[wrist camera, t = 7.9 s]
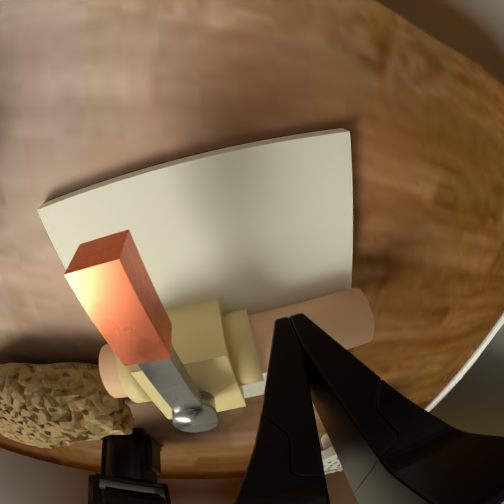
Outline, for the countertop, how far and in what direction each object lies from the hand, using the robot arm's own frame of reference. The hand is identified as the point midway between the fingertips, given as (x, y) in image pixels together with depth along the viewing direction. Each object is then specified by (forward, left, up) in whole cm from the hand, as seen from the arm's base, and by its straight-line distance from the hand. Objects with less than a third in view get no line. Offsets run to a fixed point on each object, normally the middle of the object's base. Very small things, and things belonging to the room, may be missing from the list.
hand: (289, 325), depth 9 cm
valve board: (-3, -8, -10) cm, 13 cm away
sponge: (-23, -14, -11) cm, 29 cm away
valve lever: (-6, -4, -4) cm, 8 cm away
